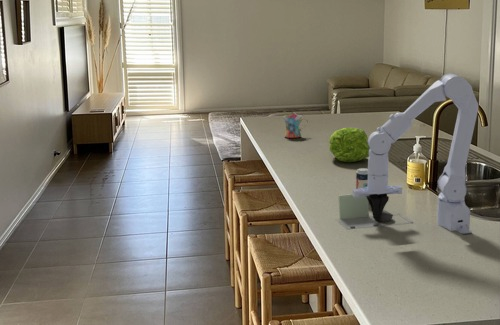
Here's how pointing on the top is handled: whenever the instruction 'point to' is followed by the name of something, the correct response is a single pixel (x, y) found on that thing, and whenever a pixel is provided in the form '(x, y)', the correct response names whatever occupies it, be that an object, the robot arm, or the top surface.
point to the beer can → (362, 178)
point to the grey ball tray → (365, 222)
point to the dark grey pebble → (386, 216)
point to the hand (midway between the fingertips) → (376, 219)
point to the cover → (353, 206)
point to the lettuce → (349, 144)
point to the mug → (293, 125)
